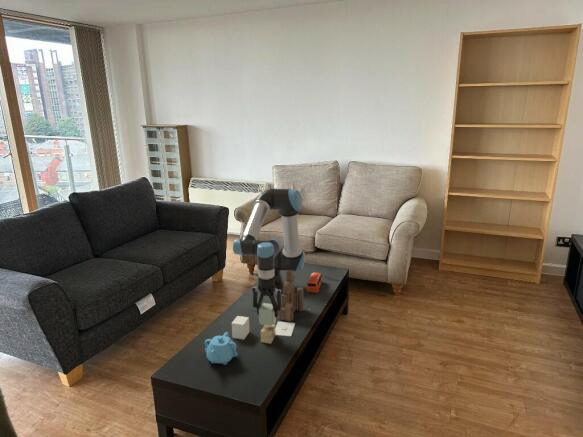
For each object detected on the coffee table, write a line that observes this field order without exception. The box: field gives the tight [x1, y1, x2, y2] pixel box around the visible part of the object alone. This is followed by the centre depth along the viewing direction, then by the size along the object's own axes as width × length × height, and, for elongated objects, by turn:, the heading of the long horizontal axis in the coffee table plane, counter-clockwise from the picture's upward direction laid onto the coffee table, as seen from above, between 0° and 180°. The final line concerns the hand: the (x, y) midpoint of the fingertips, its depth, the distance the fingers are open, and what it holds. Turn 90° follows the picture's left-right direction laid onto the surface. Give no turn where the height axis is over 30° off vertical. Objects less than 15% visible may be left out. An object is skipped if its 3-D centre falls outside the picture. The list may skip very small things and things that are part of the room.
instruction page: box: [275, 321, 296, 337], centre depth 201 cm, size 12×9×1 cm
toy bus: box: [306, 272, 323, 294], centre depth 245 cm, size 7×18×7 cm, turn 167°
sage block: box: [258, 302, 274, 326], centre depth 190 cm, size 6×6×8 cm
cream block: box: [231, 315, 250, 340], centre depth 196 cm, size 7×6×8 cm
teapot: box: [204, 331, 239, 366], centre depth 176 cm, size 13×14×11 cm
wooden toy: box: [278, 270, 304, 323], centre depth 212 cm, size 16×7×25 cm, turn 150°
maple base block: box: [260, 324, 277, 344], centre depth 192 cm, size 7×5×6 cm
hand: (267, 321), depth 191 cm, fingers closed on sage block, 6 cm apart
